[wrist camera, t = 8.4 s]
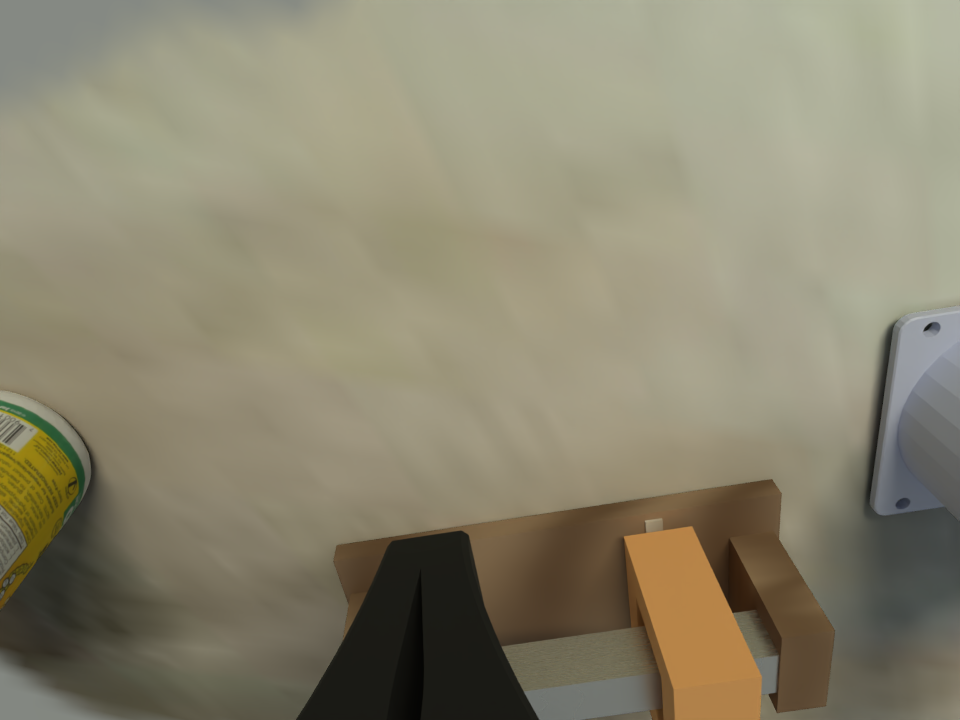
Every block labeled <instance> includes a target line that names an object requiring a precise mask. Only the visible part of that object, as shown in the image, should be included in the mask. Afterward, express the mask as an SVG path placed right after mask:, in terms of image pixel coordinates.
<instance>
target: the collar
mask: <svg viewBox="0 0 960 720" xmlns="http://www.w3.org/2000/svg"><path fill="white" fill-rule="evenodd" d="M624 546H625V558H626V570H627V582H628V594H629V607H630V619H631V628H633V627H640V626H645V627H646V631H647V634H648V637H649V640H650V643H651V647H652V650H653V653H654V656H655V659H656V662H657V666H658V669H659V672H660V675H661V681H662V700H663V708H662V709H655V710H650V713H651V716H652V720H760V707H761V687H762V676H761V674H760V671H759V669H758V667H757V665H756V663H755V661H754V659H753V656H752V654H751V652H750V650H749V648H748V646H747V643H746V641H745V639H744V637H743V635H742V633H741V630H740V628H739V626H738V624H737V622H736V620H735V618H734V615H733V613H732V611H731V609H730V607H729V605H728V602H727V600H726V598H725V596H724V594H723V592H722V590H721V587H720V585H719V583H718V581H717V579H716V577H715V574H714V572H713V570H712V568H711V566H710V564H709V561H708V559H707V557H706V555H705V553H704V551H703V549H702V546H701V544H700V542H699V540H698V538H697V536H696V533H695V531H694V529H693V527H692V526H690V527H683V528H677V529H670V530H663V531H657V532H650V533H643V534H636V535H630V536H624Z"/></svg>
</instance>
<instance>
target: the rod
mask: <svg viewBox="0 0 960 720" xmlns="http://www.w3.org/2000/svg"><path fill="white" fill-rule="evenodd" d="M733 615H734V618H735V620H736V622H737V624H738V626H739V628H740V630H741V633H742V635H743V637H744V639H745V641H746V643H747V646H748V648H749V650H750V652H751V654H752V656H753V659H754V661H755V663H756V665H757V667H758V669H759V671H760V674H761V676H762V687H761V695H763V694H770V693H777V683H778V668H779V654H778V652H777V650H776V648H775V646H774V644H773V642H772V640H771V638H770V636H769V634H768V632H767V630H766V628H765V626H764V624H763V622H762V620H761V618H760V616H759V614H758V612H757V610H751V611H744V612H737V613H733ZM502 649H503V651H504V653H505V655H506V657H507V659H508V661H509V663H510V666H511V668H512V670H513V672H514V674H515V676H516V678H517V680H518V682H519V683H520V685H521V687H522V689H523V691H524V693H525V695H526V697H527V698H528V700H529V702H530V704H531V706H532V707H533V709H534V711H535V713H536V714H537V716H538V718H539V720H583V719H591V718H598V717H605V716H612V715H619V714H626V713H634V712H641V711H648V710H655V709H662V708H663V700H662V681H661V675H660V672H659V669H658V666H657V662H656V659H655V656H654V653H653V650H652V647H651V643H650V640H649V637H648V634H647V631H646V627H645V626H640V627H633V628H626V629H620V630H613V631H606V632H599V633H592V634H585V635H578V636H571V637H564V638H557V639H550V640H543V641H536V642H529V643H523V644H516V645H509V646H502Z"/></svg>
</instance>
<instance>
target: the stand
mask: <svg viewBox="0 0 960 720" xmlns="http://www.w3.org/2000/svg"><path fill="white" fill-rule="evenodd" d="M781 494H782V493H781V492H780V491H779V489H778V488H777V486H776V485H775V483H774V482H773V480H772V479H771V480H764V481H758V482H751V483H745V484H738V485H731V486H725V487H718V488H712V489H705V490H698V491H692V492H685V493H679V494H672V495H666V496H659V497H652V498H646V499H639V500H633V501H626V502H619V503H613V504H606V505H600V506H593V507H587V508H580V509H573V510H567V511H560V512H554V513H547V514H540V515H534V516H527V517H521V518H514V519H508V520H501V521H494V522H488V523H481V524H475V525H468V526H461V527H455V528H448V529H442V530H435V531H429V532H422V533H415V534H409V535H402V536H396V537H389V538H382V539H376V540H369V541H363V542H356V543H350V544H343V545H337V546H336V551H335V556H334V561H333V562H334V564H335V567H336V570H337V573H338V576H339V579H340V581H341V584H342V587H343V590H344V593H345V595H346V598H347V601H348V604H349V607H348V612H347V618H346V624H345V630H344V636H343V640H344V638H345V636H346V634H347V632H348V630H349V628H350V626H351V624H352V622H353V620H354V618H355V617H356V615H357V613H358V611H359V609H360V607H361V605H362V603H363V600H364V598H365V596H366V594H367V592H368V590H369V588H370V586H371V583H372V581H373V579H374V577H375V575H376V572H377V570H378V568H379V565H380V563H381V561H382V558H383V556H384V553H385V551H386V549H387V546H388V545H389V544H390V543H391V542H392V541H394V540H401V539H407V538H414V537H420V536H427V535H434V534H440V533H447V532H453V531H460V530H462V531H463V532H465V533H467V534H468V535H469V538H470V543H471V547H472V552H473V556H474V561H475V565H476V570H477V574H478V579H479V583H480V588H481V592H482V597H483V601H484V606H485V608H486V611H487V613H488V616H489V618H490V621H491V623H492V626H493V628H494V631H495V633H496V635H497V638H498V640H499V642H500V645H501V647H502V646H509V645H516V644H523V643H529V642H536V641H543V640H550V639H557V638H564V637H571V636H578V635H585V634H592V633H599V632H606V631H613V630H620V629H626V628H631V619H630V607H629V594H628V582H627V570H626V558H625V546H624V536H630V535H636V534H643V533H650V532H657V531H663V530H670V529H677V528H683V527H690V526H692V527H693V529H694V531H695V533H696V536H697V538H698V540H699V542H700V544H701V546H702V549H703V551H704V553H705V555H706V557H707V559H708V561H709V564H710V566H711V568H712V570H713V572H714V574H715V577H716V579H717V581H718V583H719V585H720V587H721V590H722V592H723V594H724V596H725V598H726V600H727V602H728V605H729V607H730V609H731V611H732V613H737V612H744V611H751V610H757V612H758V614H759V616H760V618H761V620H762V622H763V624H764V626H765V628H766V630H767V632H768V634H769V636H770V638H771V640H772V642H773V644H774V646H775V648H776V650H777V652H778V654H779V668H778V683H777V693H770V694H768V695H769V697H770V699H771V701H772V703H773V705H774V708H775V710H776V712H777V713H780V712H787V711H795V710H802V709H809V708H816V707H824V706H826V702H827V694H828V685H829V677H830V669H831V660H832V652H833V644H834V635H835V630H834V628H833V627H832V625H831V623H830V622H829V620H828V619H827V617H826V615H825V614H824V612H823V610H822V609H821V607H820V605H819V604H818V602H817V601H816V599H815V597H814V596H813V594H812V592H811V591H810V589H809V588H808V586H807V584H806V583H805V581H804V579H803V578H802V576H801V575H800V573H799V571H798V570H797V568H796V566H795V565H794V563H793V562H792V560H791V558H790V557H789V555H788V553H787V552H786V550H785V549H784V547H783V545H782V544H781V542H780V540H779V528H780V511H781Z"/></svg>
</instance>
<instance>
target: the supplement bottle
mask: <svg viewBox="0 0 960 720" xmlns="http://www.w3.org/2000/svg"><path fill="white" fill-rule="evenodd" d="M90 478H91V464H90V458H89V453H88V451H87V449H86V447H85V445H84V443H83V441H82V439H81V438H80V436H79V435H78V434H77V432H76V431H75V430H74V429H73V428H72V427H71V425H70V424H69V423H68V422H67V421H66V420H65V419H64V418H63V417H61V416H60V415H59V414H58V413H56V412H55V411H53V410H52V409H50V408H49V407H47V406H45V405H44V404H42V403H40V402H38V401H36V400H33V399H31V398H29V397H26V396H23V395H20V394H17V393H13V392H9V391H3V390H0V611H1V609H2V608H3V607H4V606H5V604H6V603H7V601H8V600H9V599H10V597H11V596H12V594H13V593H14V592H15V590H16V589H17V588H18V586H19V585H20V584H21V582H22V581H23V579H24V578H25V577H26V575H27V574H28V573H29V571H30V570H31V568H32V567H33V566H34V564H35V563H36V562H37V560H38V559H39V558H40V556H41V555H42V554H43V552H44V551H45V550H46V548H47V547H48V546H49V545H50V543H51V542H52V540H53V539H54V538H55V536H56V535H57V534H58V533H59V531H60V530H61V529H62V527H63V526H64V525H65V523H66V522H67V521H68V519H69V518H70V516H71V515H72V514H73V512H74V511H75V509H76V508H77V506H78V505H79V504H80V502H81V500H82V498H83V496H84V494H85V492H86V490H87V488H88V485H89V482H90Z"/></svg>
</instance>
